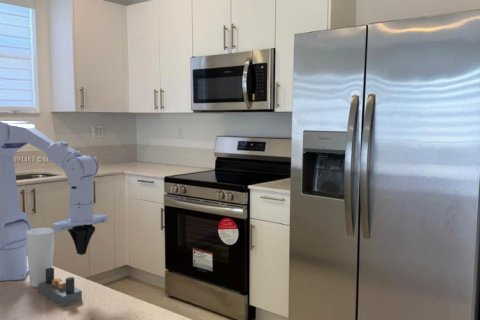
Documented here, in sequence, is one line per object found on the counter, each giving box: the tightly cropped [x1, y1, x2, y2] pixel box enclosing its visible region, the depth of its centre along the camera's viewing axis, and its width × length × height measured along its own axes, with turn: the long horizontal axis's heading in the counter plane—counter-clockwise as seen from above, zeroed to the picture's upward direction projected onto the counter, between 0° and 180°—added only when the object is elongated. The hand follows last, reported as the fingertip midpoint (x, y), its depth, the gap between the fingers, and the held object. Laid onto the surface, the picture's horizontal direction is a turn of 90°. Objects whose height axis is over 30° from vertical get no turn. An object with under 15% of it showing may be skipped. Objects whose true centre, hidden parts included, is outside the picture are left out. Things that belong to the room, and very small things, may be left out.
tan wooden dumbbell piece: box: [52, 277, 66, 289], centre depth 108 cm, size 4×2×1 cm, turn 53°
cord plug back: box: [46, 267, 55, 284], centre depth 110 cm, size 2×2×4 cm
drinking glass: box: [25, 227, 55, 289], centre depth 114 cm, size 7×7×15 cm
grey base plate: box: [37, 278, 83, 307], centre depth 108 cm, size 12×5×2 cm, turn 53°
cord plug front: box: [65, 276, 75, 294], centre depth 105 cm, size 2×2×4 cm
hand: (81, 253), depth 110 cm, fingers closed
